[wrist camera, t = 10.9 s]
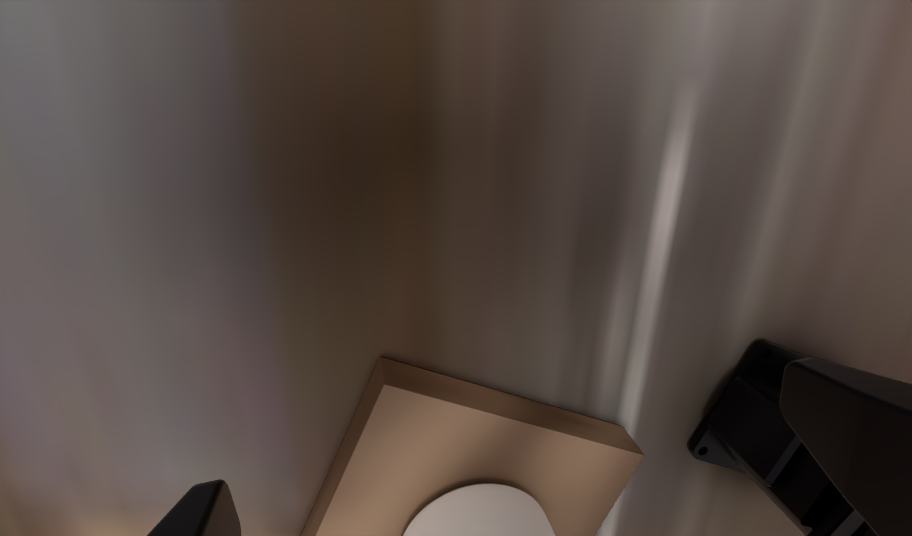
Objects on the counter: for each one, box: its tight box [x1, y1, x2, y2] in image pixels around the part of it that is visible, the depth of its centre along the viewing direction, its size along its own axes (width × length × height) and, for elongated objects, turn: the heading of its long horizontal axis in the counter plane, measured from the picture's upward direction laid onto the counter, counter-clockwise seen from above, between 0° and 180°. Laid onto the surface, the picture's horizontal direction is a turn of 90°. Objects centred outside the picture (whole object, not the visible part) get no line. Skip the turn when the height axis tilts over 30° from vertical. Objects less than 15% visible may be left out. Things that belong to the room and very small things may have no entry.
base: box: [301, 357, 644, 536], centre depth 25 cm, size 12×12×2 cm
